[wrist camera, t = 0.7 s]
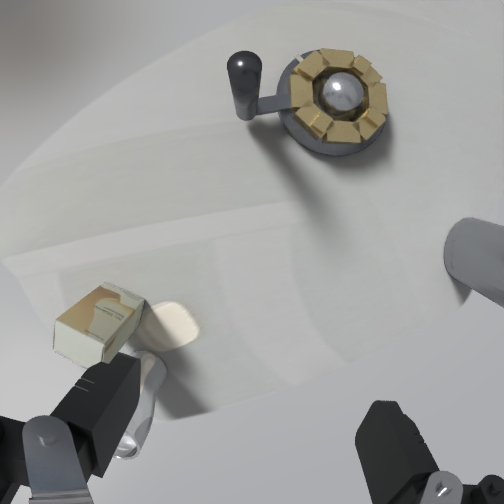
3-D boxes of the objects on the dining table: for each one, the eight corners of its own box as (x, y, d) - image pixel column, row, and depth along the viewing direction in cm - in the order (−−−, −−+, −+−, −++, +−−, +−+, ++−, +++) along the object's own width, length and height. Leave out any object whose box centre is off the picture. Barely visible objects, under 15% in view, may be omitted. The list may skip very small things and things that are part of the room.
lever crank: (374, 62, 29) (434, 13, 15) (381, 146, 31) (454, 133, 18) (235, 54, 29) (226, -15, 15) (237, 143, 31) (227, 117, 18)
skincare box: (146, 298, 37) (108, 346, 25) (139, 326, 38) (103, 378, 26) (102, 279, 37) (53, 318, 25) (97, 307, 38) (51, 352, 26)
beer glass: (130, 339, 39) (85, 407, 24) (176, 360, 39) (148, 438, 25) (119, 373, 40) (80, 441, 26) (162, 393, 41) (135, 468, 26)
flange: (376, 60, 30) (394, 45, 25) (384, 158, 33) (405, 156, 28) (273, 51, 30) (277, 31, 25) (277, 154, 33) (282, 150, 28)
